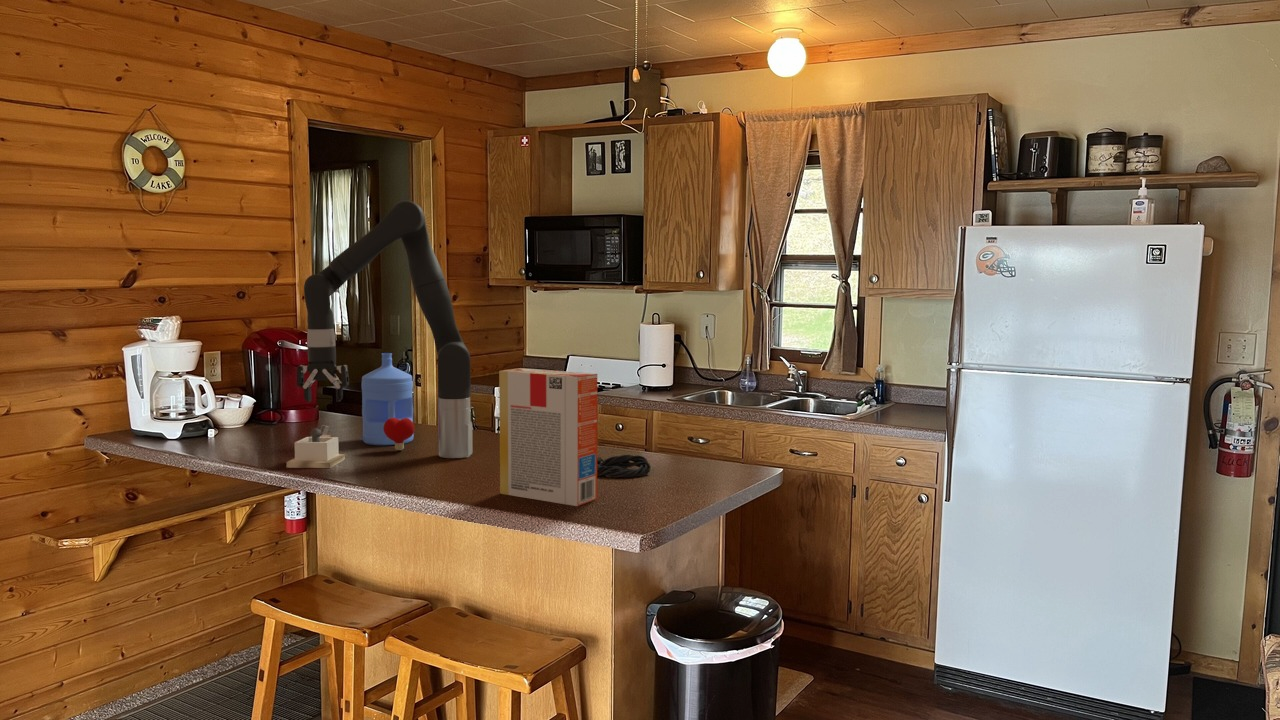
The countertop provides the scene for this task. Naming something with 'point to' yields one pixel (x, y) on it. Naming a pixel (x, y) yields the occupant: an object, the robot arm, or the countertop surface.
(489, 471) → the countertop surface
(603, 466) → the cable
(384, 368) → the water jug
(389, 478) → the countertop surface
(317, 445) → the white square frame
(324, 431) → the lighter
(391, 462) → the countertop surface
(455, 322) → the robot arm
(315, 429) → the beige peg base
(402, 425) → the red heart
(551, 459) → the pasta box
